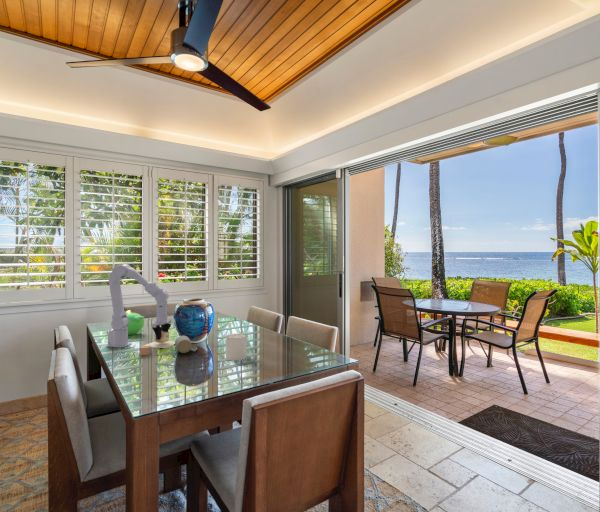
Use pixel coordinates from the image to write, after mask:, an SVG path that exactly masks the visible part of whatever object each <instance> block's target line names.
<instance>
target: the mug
mask: <svg viewBox="0 0 600 512" xmlns="http://www.w3.org/2000/svg"><path fill="white" fill-rule="evenodd" d="M247 355H248V334H245V333H229V334H227V335H225V360H227V361H231V360H233V362H234V361H235V360H239V361H243V360H242V359H244V360H246V359H247V358H248V356H247ZM245 358H246V359H245ZM235 362H236V361H235Z"/></svg>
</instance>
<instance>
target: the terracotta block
mask: <svg viewBox="0 0 600 512" xmlns="http://www.w3.org/2000/svg"><path fill="white" fill-rule="evenodd" d="M151 349H152V348H151V346H143V345H142V346H140V347H139V357H143V356H142V355H148V356H150V355H151V354H150V353H151Z"/></svg>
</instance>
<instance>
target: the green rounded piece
mask: <svg viewBox="0 0 600 512" xmlns="http://www.w3.org/2000/svg"><path fill="white" fill-rule="evenodd" d="M125 312H126V315H127V317H128V318H129V324H128V325H127V327H128V336H131V335H135V334H138V333H139V332H141V330H143V328H144V326H145V318H146V316H145V315H144V316H143V315H141V314H140V313H137V312H133V311H132V310H130V309H128V310H126V311H125ZM111 329H113V328H112V327H111Z"/></svg>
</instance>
